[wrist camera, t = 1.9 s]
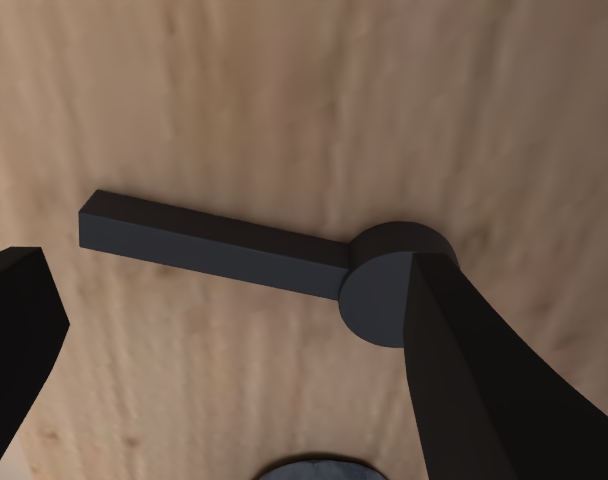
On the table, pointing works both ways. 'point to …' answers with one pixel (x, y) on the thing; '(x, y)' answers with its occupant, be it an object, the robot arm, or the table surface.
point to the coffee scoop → (271, 256)
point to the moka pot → (322, 471)
